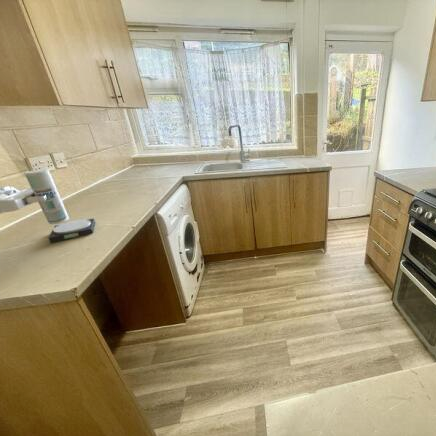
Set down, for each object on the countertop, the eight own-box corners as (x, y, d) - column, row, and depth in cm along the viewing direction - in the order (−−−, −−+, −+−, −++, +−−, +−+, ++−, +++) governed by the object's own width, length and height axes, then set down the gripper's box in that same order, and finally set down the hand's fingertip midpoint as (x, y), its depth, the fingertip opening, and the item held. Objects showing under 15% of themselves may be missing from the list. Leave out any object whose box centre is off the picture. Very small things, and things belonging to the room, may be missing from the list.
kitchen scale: (50, 243, 98) (46, 236, 97) (57, 230, 109) (54, 224, 108) (93, 234, 105) (90, 227, 104) (95, 222, 116) (93, 216, 115)
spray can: (46, 225, 93) (21, 174, 84) (50, 220, 98) (26, 171, 89) (68, 221, 96) (46, 171, 88) (70, 216, 101) (50, 168, 93)
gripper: (30, 198, 99) (70, 195, 102) (-14, 217, 81) (36, 213, 84) (23, 183, 97) (64, 180, 100) (-24, 199, 79) (28, 195, 82)
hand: (51, 195), depth 92 cm, fingers closed on spray can, 5 cm apart
